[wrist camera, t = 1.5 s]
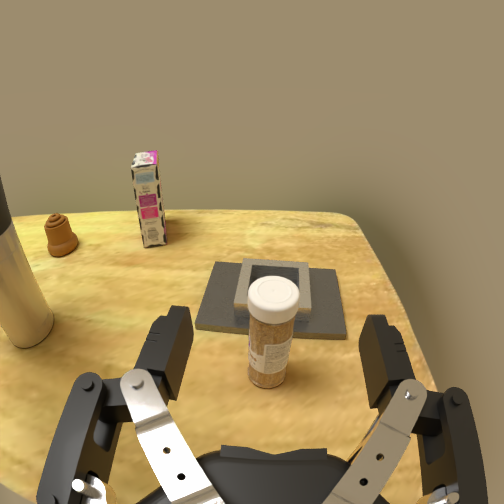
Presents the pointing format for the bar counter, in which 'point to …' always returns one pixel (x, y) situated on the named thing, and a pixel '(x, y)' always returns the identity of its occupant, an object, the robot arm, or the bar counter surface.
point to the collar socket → (244, 274)
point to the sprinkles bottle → (271, 328)
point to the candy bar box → (149, 198)
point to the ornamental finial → (60, 235)
